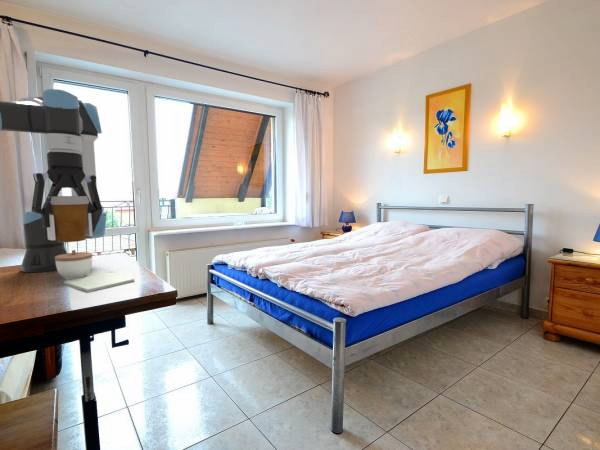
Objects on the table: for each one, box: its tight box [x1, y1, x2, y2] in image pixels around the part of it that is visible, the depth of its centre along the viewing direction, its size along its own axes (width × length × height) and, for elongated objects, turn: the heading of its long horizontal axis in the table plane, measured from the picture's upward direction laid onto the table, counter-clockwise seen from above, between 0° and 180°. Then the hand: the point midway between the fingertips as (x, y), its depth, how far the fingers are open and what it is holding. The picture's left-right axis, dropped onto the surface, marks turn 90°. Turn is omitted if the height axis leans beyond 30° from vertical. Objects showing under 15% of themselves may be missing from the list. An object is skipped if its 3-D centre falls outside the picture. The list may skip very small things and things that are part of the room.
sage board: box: [63, 272, 135, 293], centre depth 104 cm, size 16×14×1 cm
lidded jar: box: [55, 249, 93, 280], centre depth 111 cm, size 11×11×9 cm
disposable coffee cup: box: [45, 195, 89, 243], centre depth 86 cm, size 10×10×12 cm
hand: (71, 237), depth 86 cm, fingers closed on disposable coffee cup, 8 cm apart
